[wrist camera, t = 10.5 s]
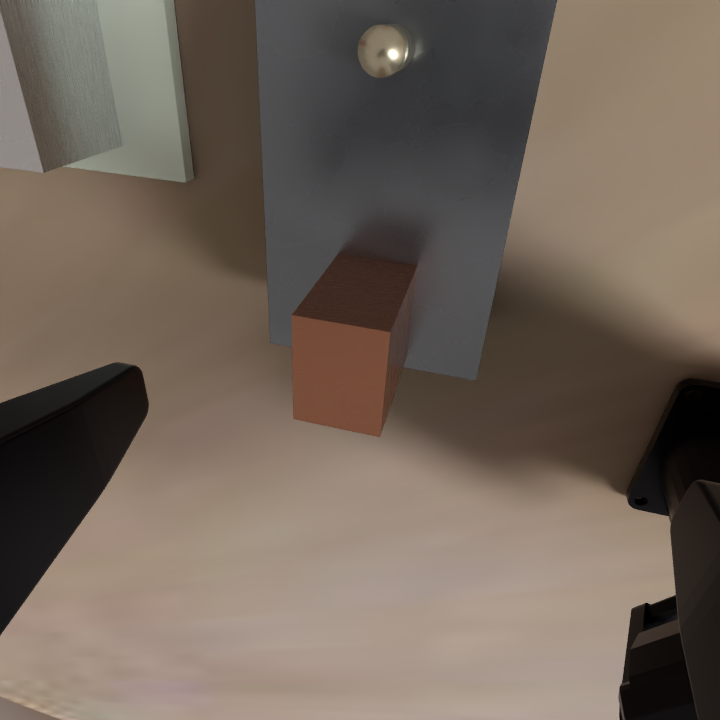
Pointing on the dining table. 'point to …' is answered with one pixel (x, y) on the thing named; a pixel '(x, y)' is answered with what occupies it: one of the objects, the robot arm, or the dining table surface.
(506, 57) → the hand plane
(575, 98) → the dining table surface
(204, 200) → the dining table surface
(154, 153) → the rubber mat
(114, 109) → the lever cap
